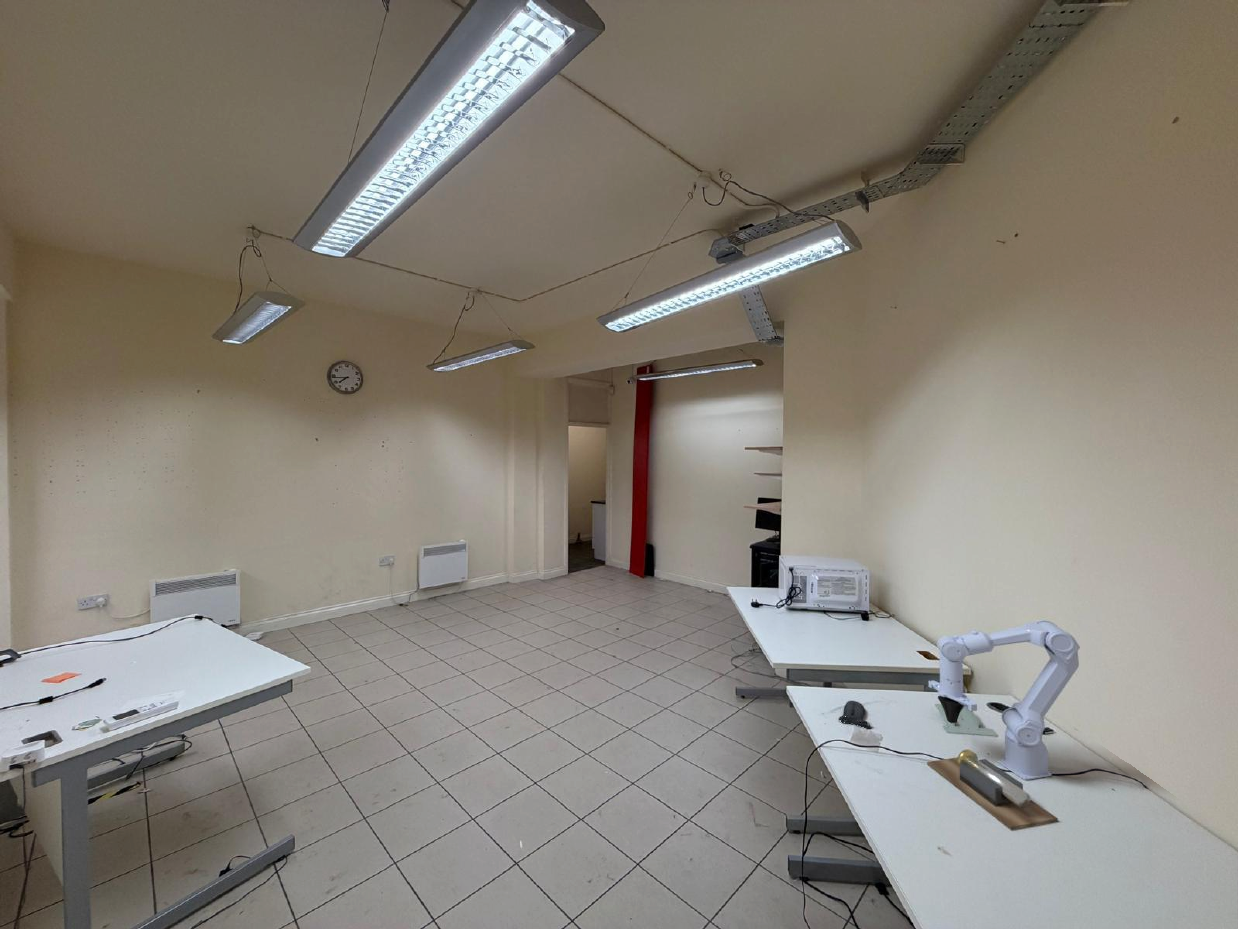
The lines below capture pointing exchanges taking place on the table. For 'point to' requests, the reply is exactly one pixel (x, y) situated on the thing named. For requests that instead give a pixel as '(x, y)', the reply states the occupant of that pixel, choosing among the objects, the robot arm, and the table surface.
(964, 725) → the metal bracket
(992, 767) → the bearing block
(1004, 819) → the base board
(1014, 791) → the shaft
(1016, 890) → the table surface
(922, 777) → the table surface
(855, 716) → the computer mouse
